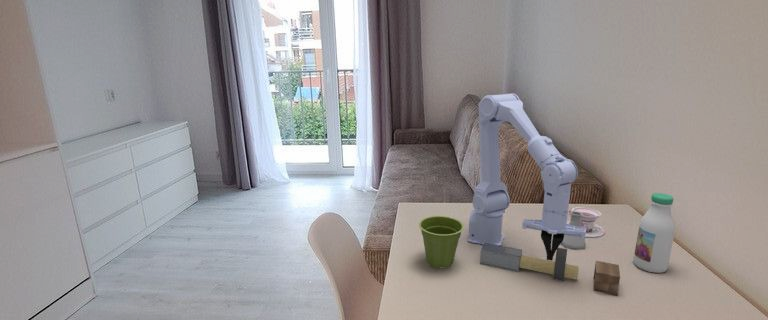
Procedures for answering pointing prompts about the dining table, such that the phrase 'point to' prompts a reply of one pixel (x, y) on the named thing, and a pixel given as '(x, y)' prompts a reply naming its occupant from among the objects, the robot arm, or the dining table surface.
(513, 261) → the sleeve
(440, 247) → the plant pot
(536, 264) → the grey-banded wooden bar
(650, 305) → the dining table surface
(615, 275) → the socket
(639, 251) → the milk bottle
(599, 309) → the dining table surface
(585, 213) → the teacup
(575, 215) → the flask
